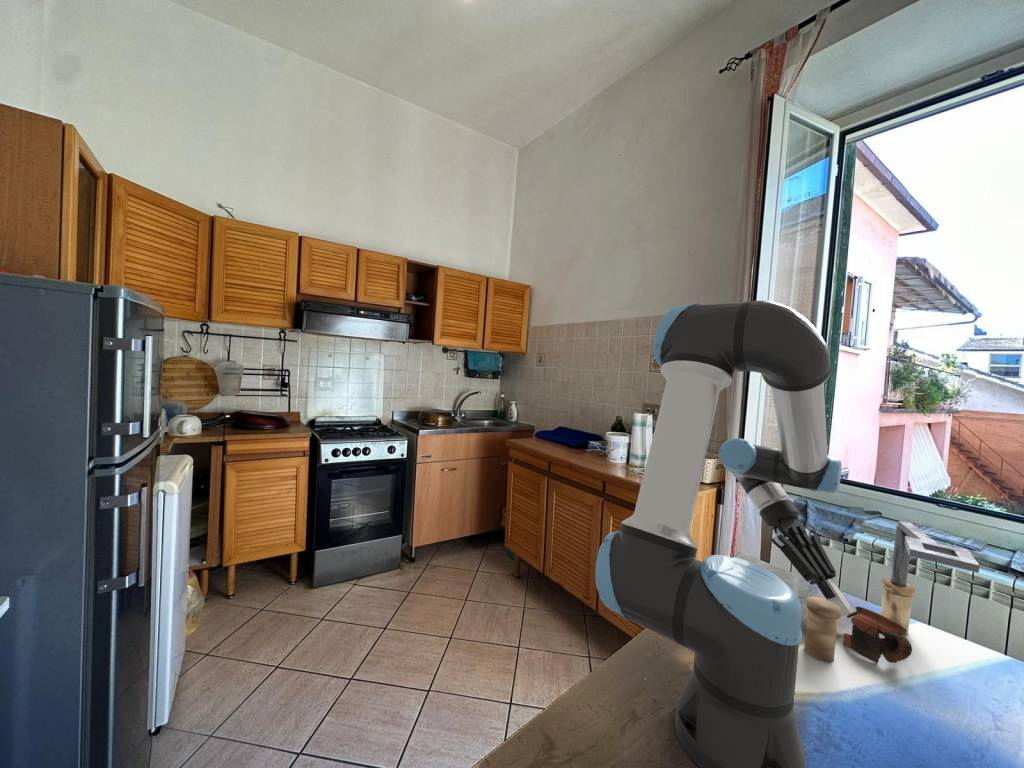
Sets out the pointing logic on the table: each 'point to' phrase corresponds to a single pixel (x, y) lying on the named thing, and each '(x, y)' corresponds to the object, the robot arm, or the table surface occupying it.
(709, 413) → the robot arm
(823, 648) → the oak collar post
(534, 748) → the table surface
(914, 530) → the aperture bracket
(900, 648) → the broken brown pot
